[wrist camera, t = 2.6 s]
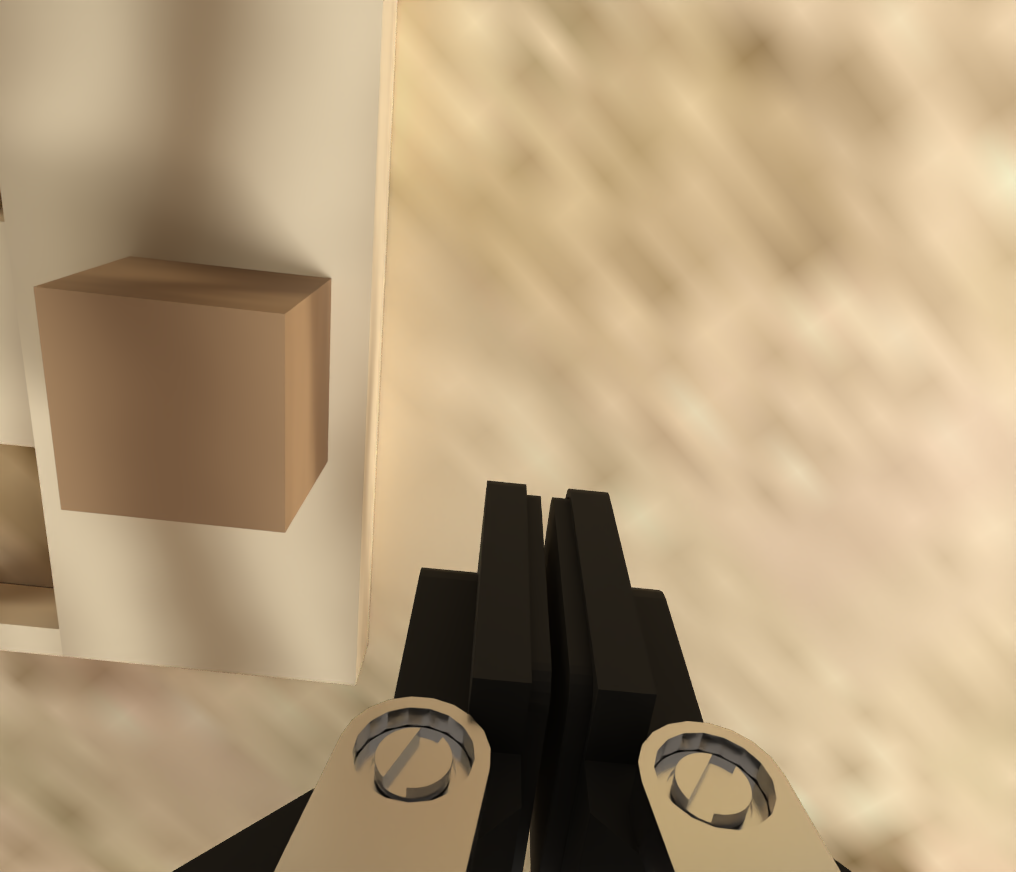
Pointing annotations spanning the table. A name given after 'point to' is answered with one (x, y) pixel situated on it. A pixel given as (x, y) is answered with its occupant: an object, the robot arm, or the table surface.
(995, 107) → the table surface
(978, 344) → the table surface
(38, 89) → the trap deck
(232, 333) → the walnut block
